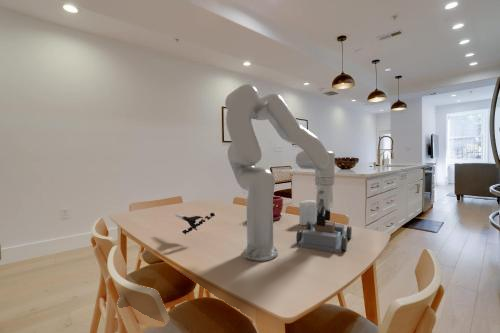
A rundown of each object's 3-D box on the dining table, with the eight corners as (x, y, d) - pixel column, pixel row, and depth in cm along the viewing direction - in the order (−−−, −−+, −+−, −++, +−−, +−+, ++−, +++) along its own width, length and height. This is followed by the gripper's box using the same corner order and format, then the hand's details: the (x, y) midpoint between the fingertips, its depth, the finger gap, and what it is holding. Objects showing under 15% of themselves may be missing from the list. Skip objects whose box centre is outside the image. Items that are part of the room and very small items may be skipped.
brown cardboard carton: (332, 239, 98) (332, 225, 98) (315, 237, 101) (314, 223, 101) (334, 236, 102) (334, 222, 102) (317, 234, 105) (317, 220, 105)
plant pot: (286, 220, 132) (286, 198, 132) (262, 222, 130) (262, 200, 129) (279, 214, 145) (279, 194, 144) (257, 216, 143) (257, 195, 142)
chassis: (344, 254, 88) (344, 239, 88) (295, 245, 97) (295, 232, 96) (352, 235, 107) (352, 223, 107) (310, 229, 116) (310, 218, 116)
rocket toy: (184, 220, 95) (159, 210, 112) (185, 236, 95) (160, 224, 112) (215, 213, 105) (188, 205, 122) (216, 227, 105) (188, 218, 122)
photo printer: (317, 222, 128) (317, 199, 127) (320, 224, 124) (320, 200, 123) (298, 223, 127) (298, 199, 126) (301, 226, 122) (300, 201, 122)
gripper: (329, 184, 91) (328, 229, 92) (337, 180, 106) (336, 219, 107) (309, 182, 95) (308, 226, 95) (320, 179, 110) (319, 217, 111)
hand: (323, 222), depth 101 cm, fingers open, 9 cm apart
